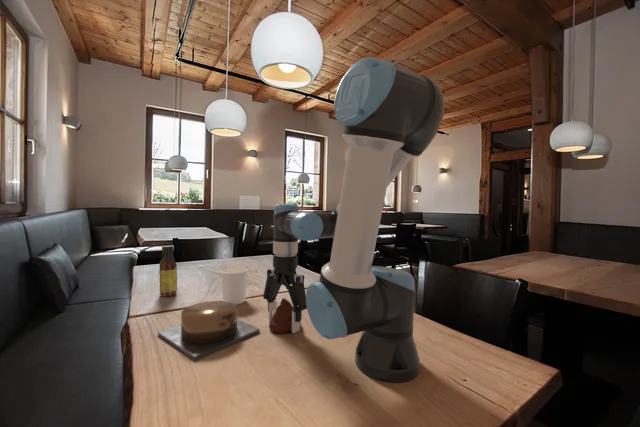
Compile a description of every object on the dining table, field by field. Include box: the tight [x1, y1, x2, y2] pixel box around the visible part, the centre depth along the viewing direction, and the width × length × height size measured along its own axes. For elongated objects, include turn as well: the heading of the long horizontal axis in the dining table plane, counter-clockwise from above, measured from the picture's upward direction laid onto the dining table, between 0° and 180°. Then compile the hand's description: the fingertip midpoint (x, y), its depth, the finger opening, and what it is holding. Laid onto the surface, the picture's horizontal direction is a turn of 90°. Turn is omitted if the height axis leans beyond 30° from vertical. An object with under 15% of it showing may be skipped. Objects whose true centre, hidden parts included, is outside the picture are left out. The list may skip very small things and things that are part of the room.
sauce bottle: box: [158, 245, 178, 298], centre depth 115 cm, size 7×6×20 cm
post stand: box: [157, 300, 261, 361], centre depth 82 cm, size 20×20×7 cm
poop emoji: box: [268, 298, 302, 335], centre depth 87 cm, size 10×8×9 cm
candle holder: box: [220, 267, 249, 306], centre depth 109 cm, size 10×10×12 cm
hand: (283, 326), depth 87 cm, fingers open, 9 cm apart
